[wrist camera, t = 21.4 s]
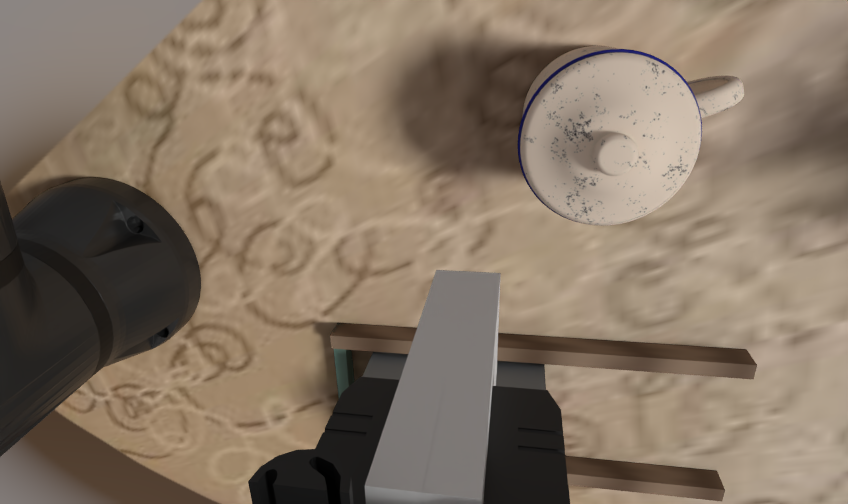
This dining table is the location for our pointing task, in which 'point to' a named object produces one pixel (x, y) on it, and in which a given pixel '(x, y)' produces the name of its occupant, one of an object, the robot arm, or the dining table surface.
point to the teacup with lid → (614, 132)
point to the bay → (582, 355)
